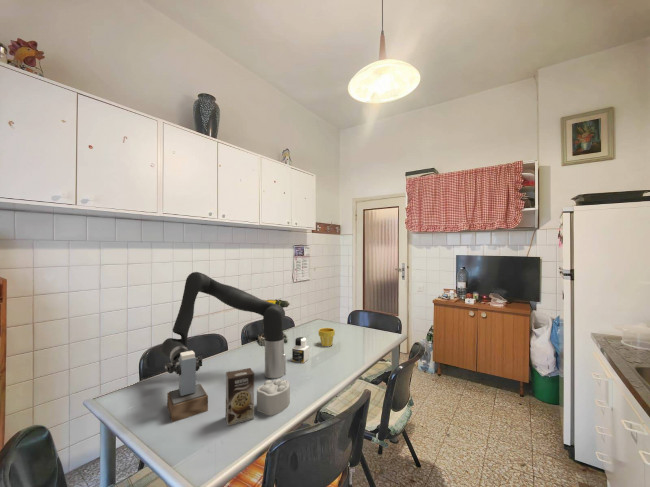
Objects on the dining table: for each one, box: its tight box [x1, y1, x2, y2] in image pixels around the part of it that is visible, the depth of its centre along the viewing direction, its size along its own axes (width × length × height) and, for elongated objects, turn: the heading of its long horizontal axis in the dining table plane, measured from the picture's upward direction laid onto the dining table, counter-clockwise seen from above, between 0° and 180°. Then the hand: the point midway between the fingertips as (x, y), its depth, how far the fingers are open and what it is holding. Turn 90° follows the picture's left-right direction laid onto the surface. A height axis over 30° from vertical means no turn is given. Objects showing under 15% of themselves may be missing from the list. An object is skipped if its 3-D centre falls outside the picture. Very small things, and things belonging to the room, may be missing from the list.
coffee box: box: [225, 367, 255, 426], centre depth 101 cm, size 9×6×16 cm
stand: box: [166, 383, 209, 423], centre depth 107 cm, size 12×12×6 cm
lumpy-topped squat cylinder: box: [256, 378, 291, 417], centre depth 109 cm, size 10×13×9 cm
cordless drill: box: [257, 299, 291, 347], centre depth 189 cm, size 18×19×28 cm
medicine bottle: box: [291, 336, 310, 364], centre depth 155 cm, size 7×7×12 cm
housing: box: [178, 350, 197, 396], centre depth 107 cm, size 5×5×14 cm
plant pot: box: [318, 327, 336, 347], centre depth 179 cm, size 10×10×10 cm
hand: (188, 370), depth 105 cm, fingers open, 5 cm apart
